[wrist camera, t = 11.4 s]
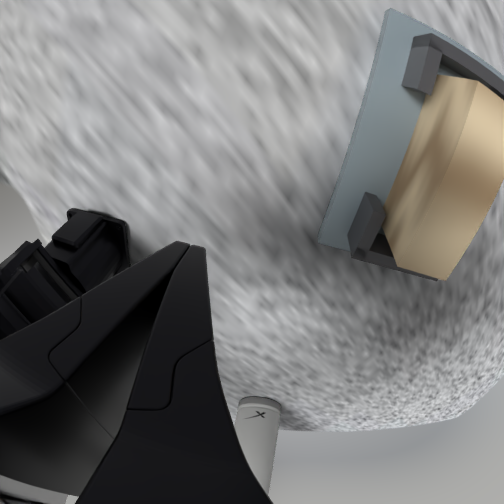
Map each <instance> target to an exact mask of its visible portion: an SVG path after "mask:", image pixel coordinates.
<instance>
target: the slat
mask: <svg viewBox="0 0 504 504" xmlns="http://www.w3.org/2000/svg"><path fill="white" fill-rule="evenodd" d="M503 179H504V100H503V99H501V98H500V97H499V96H498V95H496V94H495V93H494V92H492V91H491V90H490V89H489V88H487V87H486V86H485V85H483V84H482V83H480V82H479V81H476V80H471V79H465V78H459V77H453V76H446V75H438V74H437V77H436V81H435V84H434V88H433V91H432V95H431V96H430V95H427V94H426V96H425V99H424V102H423V105H422V109H421V112H420V115H419V118H418V120H417V123H416V126H415V129H414V132H413V135H412V137H411V140H410V143H409V145H408V148H407V151H406V153H405V156H404V158H403V161H402V164H401V166H400V169H399V171H398V173H397V176H396V178H395V181H394V183H393V185H392V188H391V190H390V192H389V195H388V197H387V199H386V201H385V204H384V206H383V209H384V211H385V213H386V216H385V218H384V221H383V223H382V225H381V226H382V228H383V230H384V233H385V235H386V238H387V240H388V243H389V245H390V248H391V251H392V253H393V256H394V259H395V261H396V264H397V267H401V268H404V269H408V270H411V271H414V272H418V273H421V274H424V275H428V276H431V277H434V278H438V279H441V280H444V281H446V280H447V278H448V277H449V275H450V274H451V272H452V271H453V269H454V268H455V266H456V265H457V263H458V262H459V260H460V259H461V257H462V256H463V254H464V252H465V251H466V249H467V248H468V246H469V244H470V243H471V241H472V239H473V238H474V236H475V234H476V232H477V231H478V229H479V227H480V225H481V224H482V222H483V220H484V218H485V216H486V214H487V212H488V211H489V209H490V207H491V205H492V203H493V201H494V199H495V197H496V194H497V192H498V190H499V188H500V186H501V184H502V181H503Z"/></svg>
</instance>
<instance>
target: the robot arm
mask: <svg viewBox="0 0 504 504" xmlns="http://www.w3.org/2000/svg"><path fill="white" fill-rule="evenodd" d="M67 218H68V221H67V222H66V223H65V224H64V225H63V226H62V227H61V228H60V229H58V230H57V231H56V232H55V233H54V234H53V236H52V241H51V242H50V243H49V244H48V245H47V246H46V247H45V248H44V247H43V246H42V243H41V242H40V240H39V239H37V240H36V241H35V242H34V243H30V242H28V241H25V242H24V243H23V244H22V245H21V246H20V247H19V248H18V249H17V250H16V251H15V252H14V253H13V254H12V255H10V256H9V257H8V258H7V259H6V260H4V261H3V262H2V263H1V264H0V504H65V502H66V499H67V496H68V495H73V496H79V498H78V499H77V501H76V503H75V504H273V502H272V501H271V500H270V498H269V496H268V495H267V494H266V492H265V491H264V489H263V488H262V486H261V484H260V483H259V481H258V480H257V478H256V477H255V475H254V473H253V472H252V470H251V468H250V466H249V464H248V462H247V460H246V458H245V455H244V453H243V450H242V448H241V445H240V442H239V440H238V437H237V434H236V431H235V428H234V425H233V422H232V418H231V415H230V412H229V409H228V406H227V403H226V400H225V396H224V393H223V389H222V385H221V381H220V377H219V373H218V367H217V361H216V354H215V345H214V341H213V340H214V338H213V328H212V319H211V308H210V298H209V286H208V274H207V262H206V249H205V248H204V247H200V246H196V245H191V246H190V244H188V243H184V242H180V241H175V242H173V243H172V244H170V245H168V246H166V247H164V248H163V249H161V250H159V251H157V252H155V253H154V254H152V255H150V256H148V257H146V258H145V259H143V260H141V261H139V262H138V263H136V264H134V265H132V266H131V267H130V262H129V254H128V245H127V235H126V226H125V223H124V222H123V221H121V220H117V219H113V218H109V217H105V216H101V215H97V214H93V213H89V212H85V211H81V210H77V209H73V208H71V209H69V210H68V211H67ZM119 226H120V227H121V228H120V227H119Z"/></svg>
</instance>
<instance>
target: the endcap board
mask: <svg viewBox="0 0 504 504" xmlns="http://www.w3.org/2000/svg"><path fill="white" fill-rule="evenodd" d="M437 74H438V75H446V76H453V77H459V78H465V79H471V80H476V81H479V82H480V83H482V84H483V85H485V86H486V87H487V88H489V89H490V90H491V91H492V92H494V93H495V94H496V95H498V96H499V97H500V98H501V99H503V100H504V76H503V75H502V74H501V73H500V72H498V71H497V70H496V69H494V68H493V67H492V66H491V65H489V64H488V63H487V62H485V61H484V60H482V59H481V58H480V57H478V56H477V55H475V54H474V53H472V52H471V51H469V50H468V49H466V48H465V47H463V46H462V45H460V44H459V43H457V42H456V41H454V40H452V39H451V38H449V37H447V36H446V35H444V34H442V33H440V32H439V31H437V30H435V29H433V28H431V27H429V26H427V25H426V24H424V23H422V22H420V21H418V20H416V19H414V18H411V17H409V16H407V15H405V14H403V13H401V12H398V11H396V10H394V9H391V8H390V9H388V10H386V11H385V16H384V20H383V25H382V29H381V33H380V37H379V42H378V46H377V50H376V54H375V58H374V62H373V65H372V69H371V73H370V77H369V80H368V84H367V88H366V91H365V95H364V98H363V102H362V105H361V108H360V112H359V115H358V119H357V122H356V125H355V128H354V132H353V135H352V138H351V141H350V144H349V147H348V151H347V154H346V157H345V160H344V163H343V166H342V169H341V172H340V175H339V178H338V181H337V184H336V186H335V189H334V192H333V195H332V198H331V201H330V204H329V206H328V209H327V212H326V215H325V217H324V220H323V223H322V226H321V228H320V231H319V234H318V243H319V244H323V245H327V246H331V247H334V248H338V249H342V250H346V251H349V252H351V256H352V258H354V259H358V260H361V261H365V262H369V263H373V264H376V265H380V266H384V267H387V268H391V269H395V270H398V271H402V272H406V273H409V274H413V275H417V276H420V277H424V278H427V279H431V280H434V281H437V280H438V278H434V277H431V276H428V275H424V274H421V273H418V272H414V271H411V270H408V269H404V268H401V267H397V264H396V261H395V259H394V256H393V253H392V251H391V248H390V245H389V243H388V240H387V238H386V235H385V233H384V230H383V228H382V226H381V225H382V223H383V221H384V218H385V216H386V213H385V211H384V209H383V206H384V204H385V201H386V199H387V197H388V195H389V192H390V190H391V188H392V185H393V183H394V181H395V178H396V176H397V173H398V171H399V169H400V166H401V164H402V161H403V158H404V156H405V153H406V151H407V148H408V145H409V143H410V140H411V137H412V135H413V132H414V129H415V126H416V123H417V120H418V118H419V115H420V112H421V109H422V105H423V102H424V99H425V96H426V94H427V95H430V96H431V95H432V91H433V88H434V84H435V81H436V77H437Z"/></svg>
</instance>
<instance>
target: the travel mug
mask: <svg viewBox="0 0 504 504" xmlns="http://www.w3.org/2000/svg"><path fill="white" fill-rule="evenodd" d="M280 413H281V406H280V404H279V403H277V402H276V401H274V400H271V399H268V398H263V397H247V398H244V399H242V400H241V401H240V402H239V406H238V412H237V416H236V420H235V425H234V428H235V431H236V434H237V437H238V440H239V442H240V445H241V448H242V450H243V453H244V455H245V458H246V460H247V462H248V464H249V466H250V468H251V470H252V472H253V473H254V475H255V477H256V478H257V480H258V481H259V483H260V484H261V486H262V488H263V489H264V491H265V492H266V494H267V495H268V493H269V487H270V481H271V475H272V469H273V462H274V455H275V449H276V442H277V435H278V428H279V421H280Z"/></svg>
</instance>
